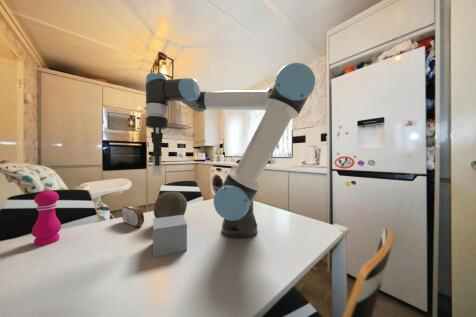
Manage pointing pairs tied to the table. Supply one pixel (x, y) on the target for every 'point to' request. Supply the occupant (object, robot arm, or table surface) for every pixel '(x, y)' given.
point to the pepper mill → (46, 218)
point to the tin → (132, 215)
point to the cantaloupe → (170, 205)
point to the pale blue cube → (169, 235)
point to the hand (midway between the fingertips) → (156, 173)
